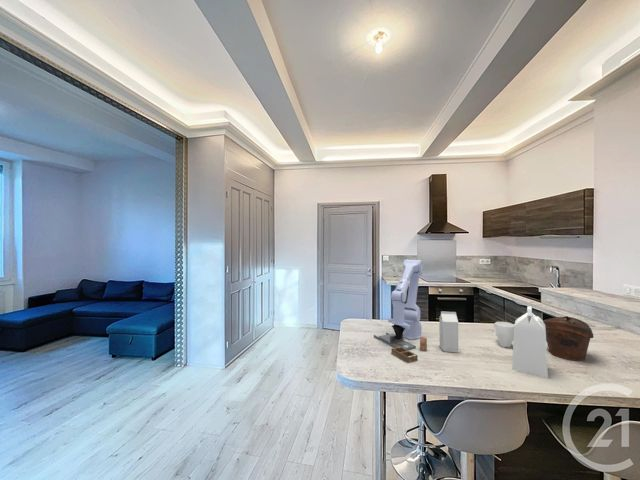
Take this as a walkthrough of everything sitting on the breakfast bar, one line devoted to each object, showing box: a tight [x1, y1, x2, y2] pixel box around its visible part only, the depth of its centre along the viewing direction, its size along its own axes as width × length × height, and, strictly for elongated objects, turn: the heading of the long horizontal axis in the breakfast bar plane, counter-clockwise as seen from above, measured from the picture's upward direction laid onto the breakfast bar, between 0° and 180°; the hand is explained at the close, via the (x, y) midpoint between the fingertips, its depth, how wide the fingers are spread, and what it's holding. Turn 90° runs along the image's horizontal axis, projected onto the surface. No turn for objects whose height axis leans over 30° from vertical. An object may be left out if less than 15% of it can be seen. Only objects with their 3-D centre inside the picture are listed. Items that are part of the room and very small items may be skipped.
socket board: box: [390, 347, 419, 364], centre depth 126 cm, size 6×11×2 cm, turn 26°
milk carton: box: [438, 311, 459, 354], centre depth 135 cm, size 7×7×19 cm
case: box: [542, 316, 595, 362], centre depth 128 cm, size 18×20×18 cm
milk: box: [511, 305, 549, 379], centre depth 115 cm, size 12×12×26 cm
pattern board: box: [373, 332, 417, 351], centre depth 144 cm, size 10×22×1 cm, turn 26°
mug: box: [492, 321, 515, 348], centre depth 141 cm, size 12×8×11 cm
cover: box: [378, 333, 405, 343], centre depth 146 cm, size 10×9×3 cm
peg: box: [419, 336, 428, 352], centre depth 134 cm, size 3×3×6 cm
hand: (398, 339), depth 141 cm, fingers closed
